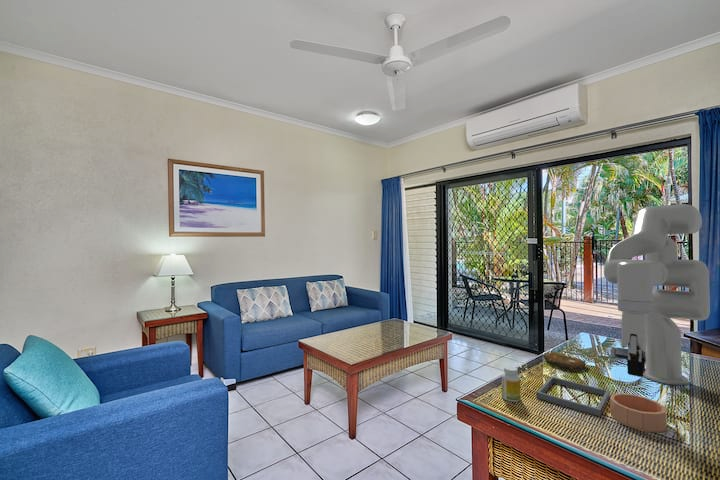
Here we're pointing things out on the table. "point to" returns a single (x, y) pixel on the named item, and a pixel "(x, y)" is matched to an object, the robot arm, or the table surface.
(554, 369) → the table surface
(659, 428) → the bowl
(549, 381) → the grey flat square frame
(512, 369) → the supplement bottle
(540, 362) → the table surface
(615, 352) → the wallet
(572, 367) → the decorative rock
